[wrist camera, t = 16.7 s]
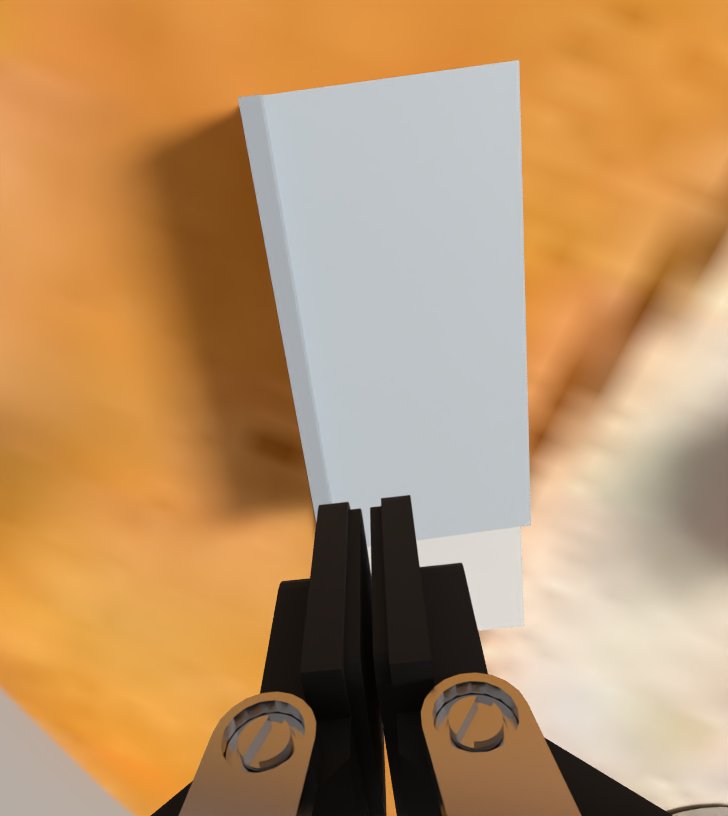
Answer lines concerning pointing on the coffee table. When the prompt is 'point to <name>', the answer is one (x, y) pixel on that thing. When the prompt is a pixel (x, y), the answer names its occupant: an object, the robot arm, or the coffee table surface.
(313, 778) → the robot arm
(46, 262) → the coffee table surface
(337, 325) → the lid
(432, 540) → the white ledged tray
